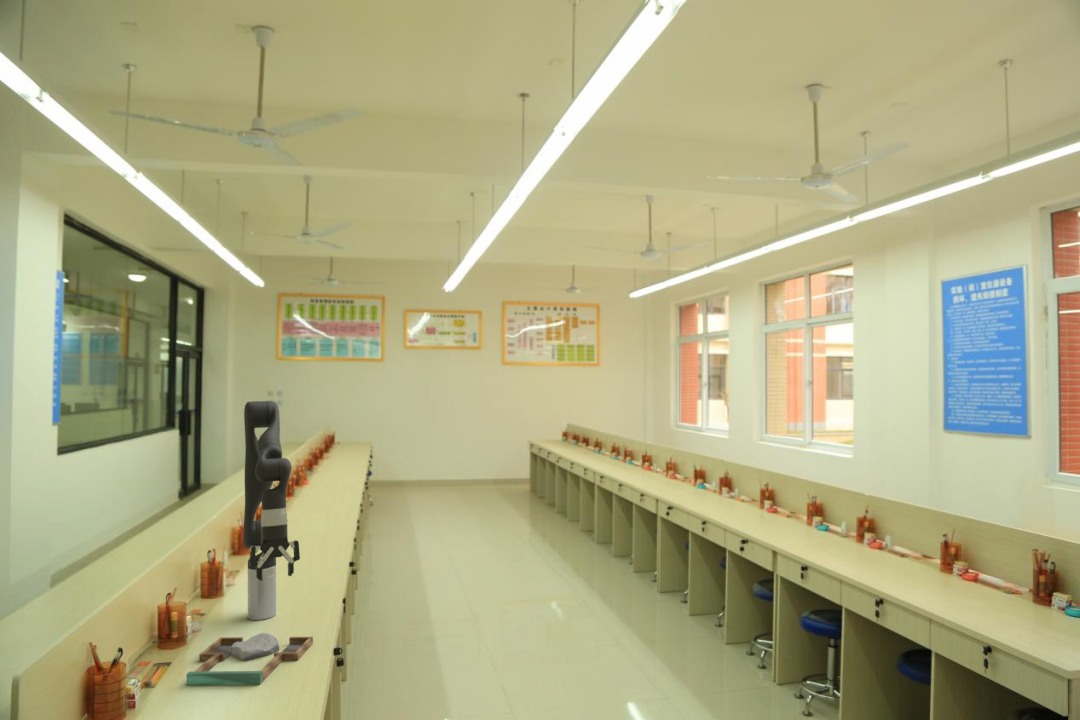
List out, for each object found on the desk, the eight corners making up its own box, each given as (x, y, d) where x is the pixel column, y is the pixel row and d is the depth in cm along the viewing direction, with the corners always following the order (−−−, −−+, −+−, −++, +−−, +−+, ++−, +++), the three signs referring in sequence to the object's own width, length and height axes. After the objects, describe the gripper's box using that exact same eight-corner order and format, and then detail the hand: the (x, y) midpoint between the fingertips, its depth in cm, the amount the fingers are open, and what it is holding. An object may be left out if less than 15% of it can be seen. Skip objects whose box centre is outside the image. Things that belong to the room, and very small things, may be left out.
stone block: (282, 656, 206) (265, 642, 212) (283, 641, 206) (266, 627, 212) (244, 670, 197) (228, 655, 203) (245, 655, 196) (229, 640, 203)
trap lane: (220, 643, 211) (220, 634, 211) (312, 643, 211) (312, 633, 211) (169, 685, 183) (169, 674, 183) (276, 684, 183) (276, 673, 183)
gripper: (295, 520, 215) (296, 573, 213) (247, 525, 208) (248, 580, 205) (301, 521, 209) (302, 575, 207) (251, 527, 201) (252, 583, 199)
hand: (275, 578), depth 206 cm, fingers open, 8 cm apart
